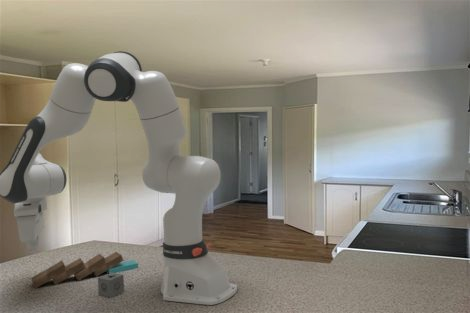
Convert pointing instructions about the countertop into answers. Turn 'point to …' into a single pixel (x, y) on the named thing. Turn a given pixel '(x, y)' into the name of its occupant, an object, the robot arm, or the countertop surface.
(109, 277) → the grey cube
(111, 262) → the domino
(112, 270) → the domino
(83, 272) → the domino
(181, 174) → the robot arm
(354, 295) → the countertop surface
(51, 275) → the domino
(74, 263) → the domino
